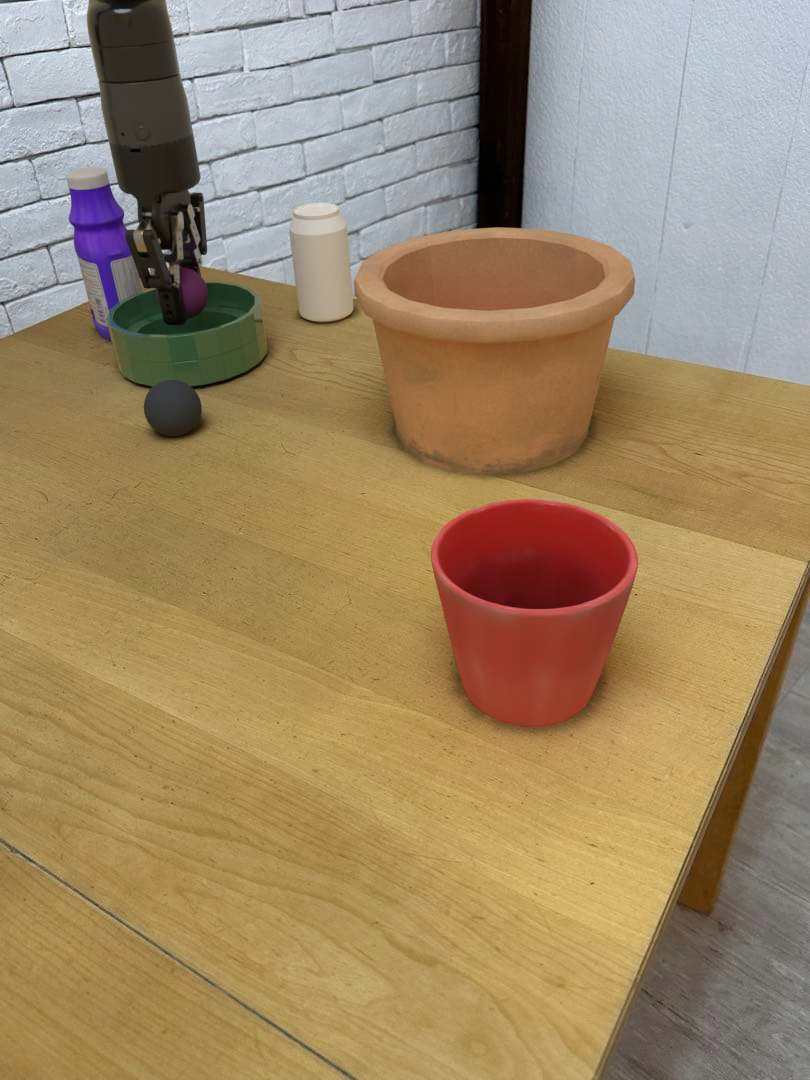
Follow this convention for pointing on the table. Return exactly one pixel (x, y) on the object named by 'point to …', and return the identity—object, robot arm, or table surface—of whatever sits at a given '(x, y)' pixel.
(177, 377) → the green bowl
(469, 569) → the flower pot
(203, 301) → the plum ball
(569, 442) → the pottery
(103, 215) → the bottle
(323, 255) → the beverage can
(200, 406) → the grey ball
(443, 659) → the table surface
